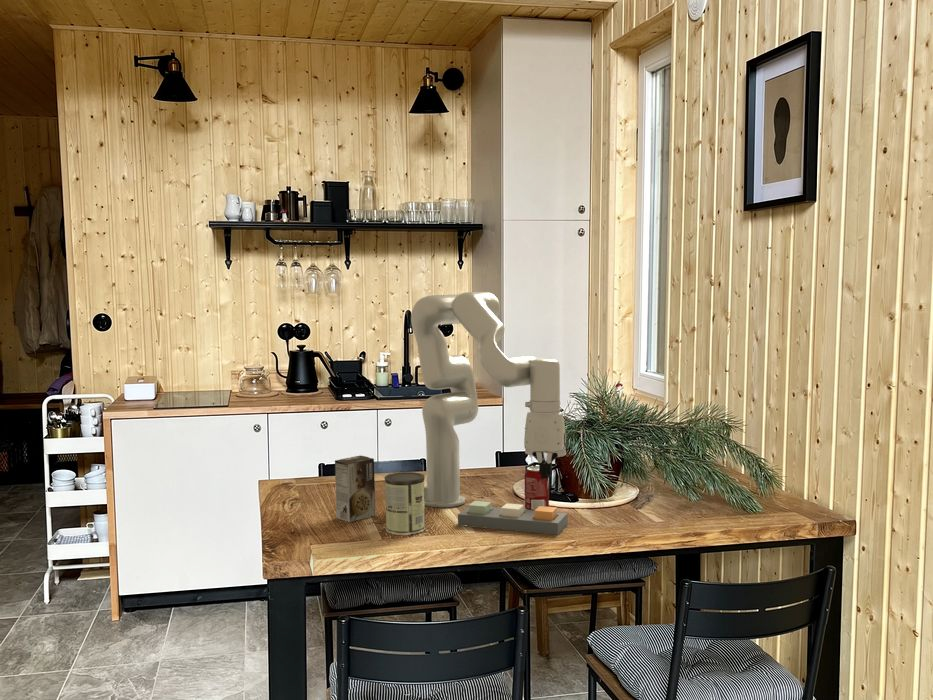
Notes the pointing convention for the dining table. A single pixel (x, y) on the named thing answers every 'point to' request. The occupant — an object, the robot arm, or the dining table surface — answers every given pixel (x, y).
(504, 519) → the button panel
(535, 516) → the orange button
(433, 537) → the dining table surface
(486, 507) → the sage button
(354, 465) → the grey cardboard box
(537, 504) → the soda can
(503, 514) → the cream button
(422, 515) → the coffee can
